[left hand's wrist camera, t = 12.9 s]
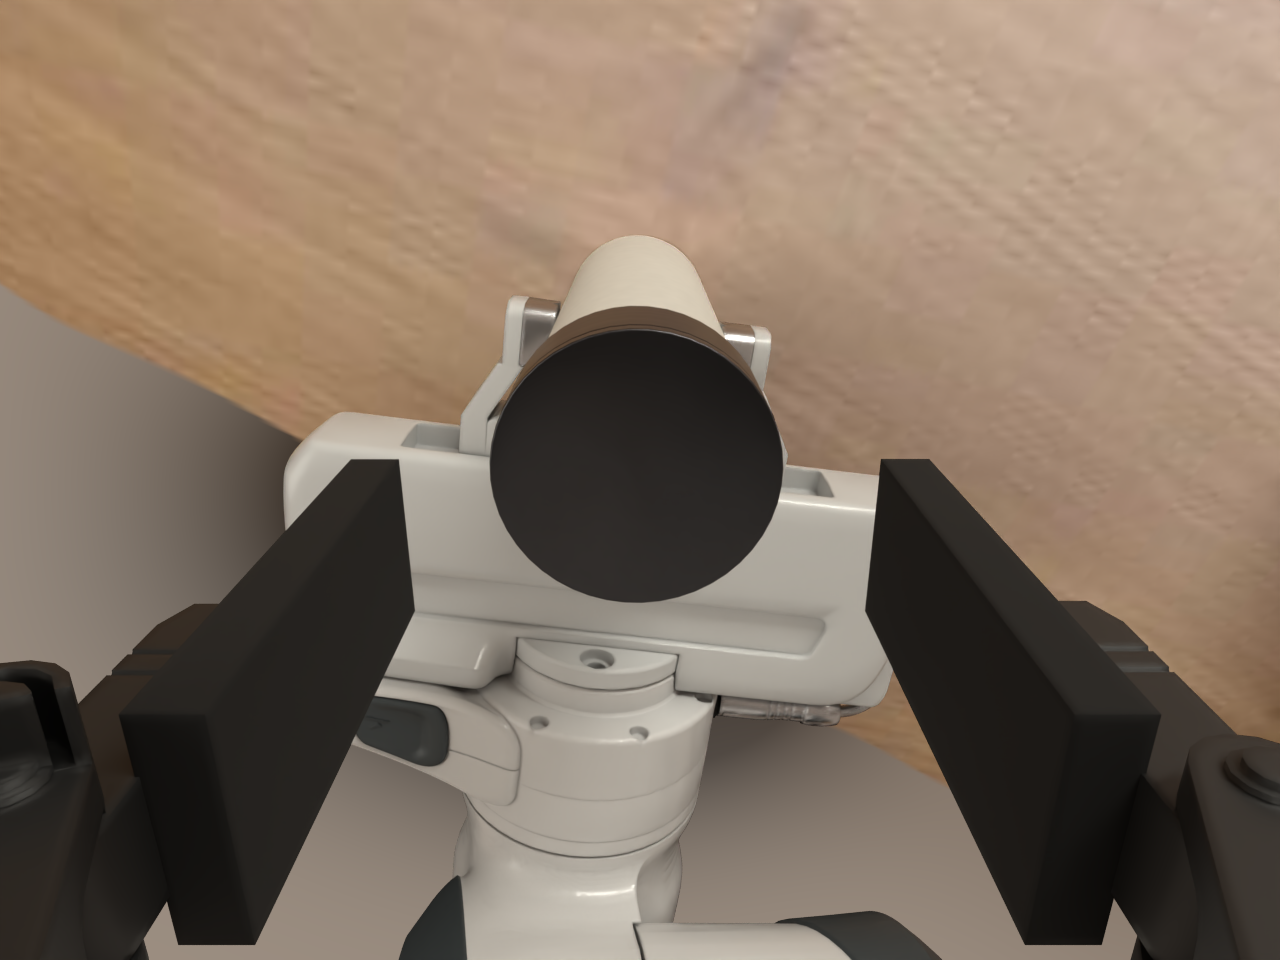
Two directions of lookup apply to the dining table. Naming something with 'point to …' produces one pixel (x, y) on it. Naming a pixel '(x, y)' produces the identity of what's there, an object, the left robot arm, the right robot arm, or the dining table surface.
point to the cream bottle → (637, 282)
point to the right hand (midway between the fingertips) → (639, 313)
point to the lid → (636, 456)
